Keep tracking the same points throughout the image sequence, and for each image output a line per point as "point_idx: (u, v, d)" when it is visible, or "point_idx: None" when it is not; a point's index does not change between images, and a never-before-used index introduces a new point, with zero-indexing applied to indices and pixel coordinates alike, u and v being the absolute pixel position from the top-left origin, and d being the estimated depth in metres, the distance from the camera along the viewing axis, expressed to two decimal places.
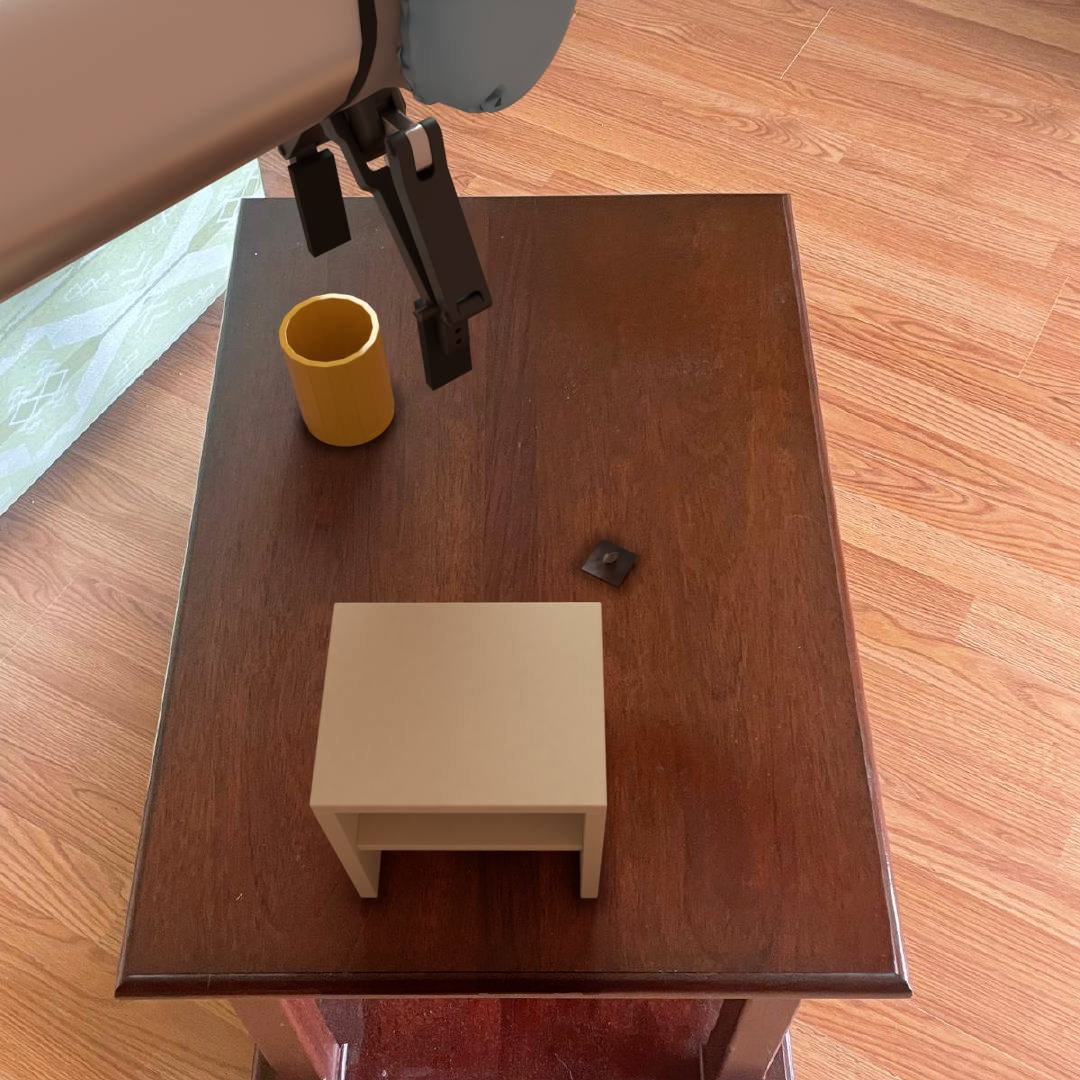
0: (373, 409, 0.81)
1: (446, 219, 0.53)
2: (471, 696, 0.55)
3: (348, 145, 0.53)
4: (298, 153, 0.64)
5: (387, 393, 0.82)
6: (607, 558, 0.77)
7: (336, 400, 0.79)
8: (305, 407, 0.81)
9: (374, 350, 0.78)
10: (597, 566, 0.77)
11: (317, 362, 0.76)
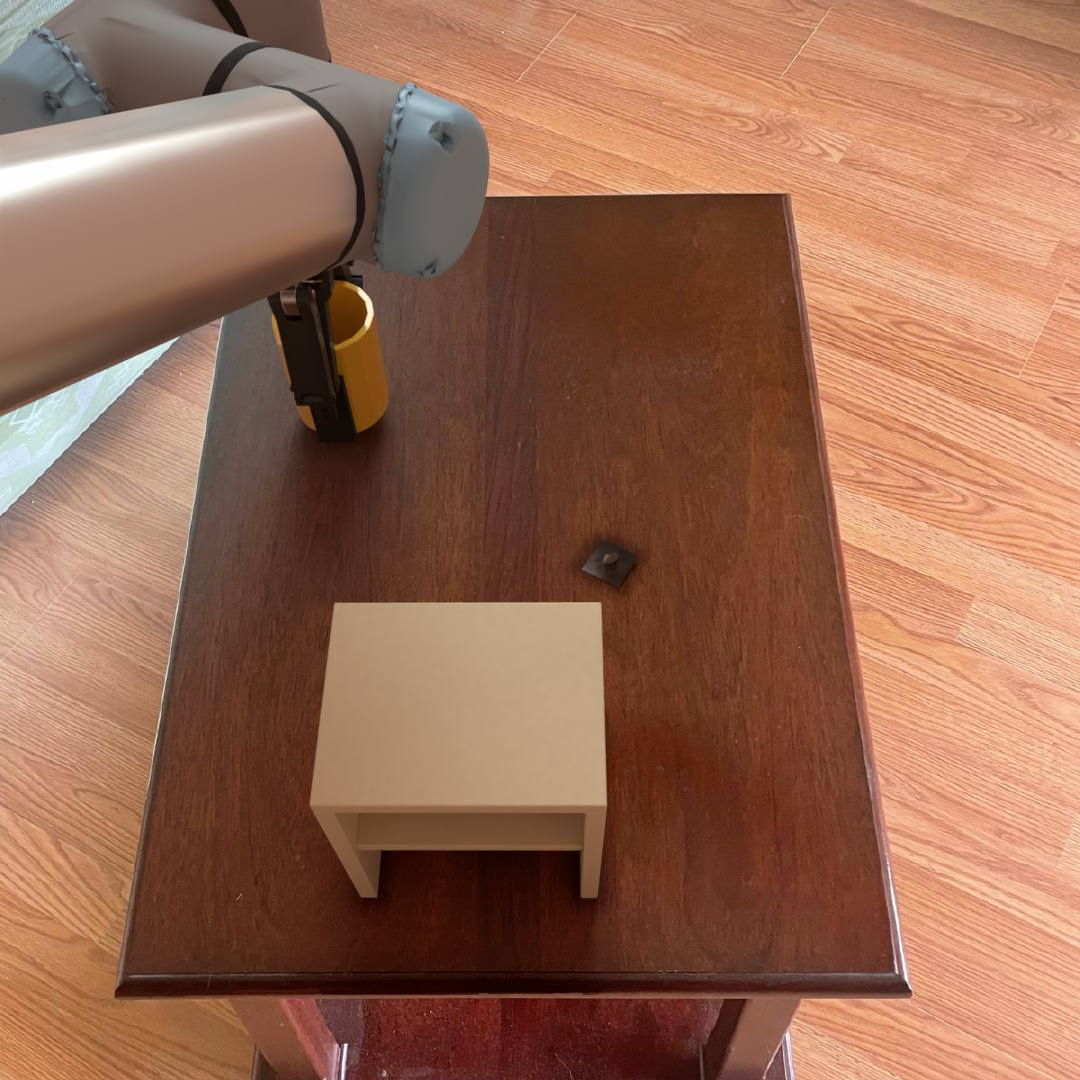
0: (367, 397, 0.80)
1: (305, 348, 0.70)
2: (471, 696, 0.55)
3: None
4: None
5: (382, 382, 0.81)
6: (608, 558, 0.77)
7: None
8: None
9: (368, 336, 0.76)
10: (597, 567, 0.77)
11: None
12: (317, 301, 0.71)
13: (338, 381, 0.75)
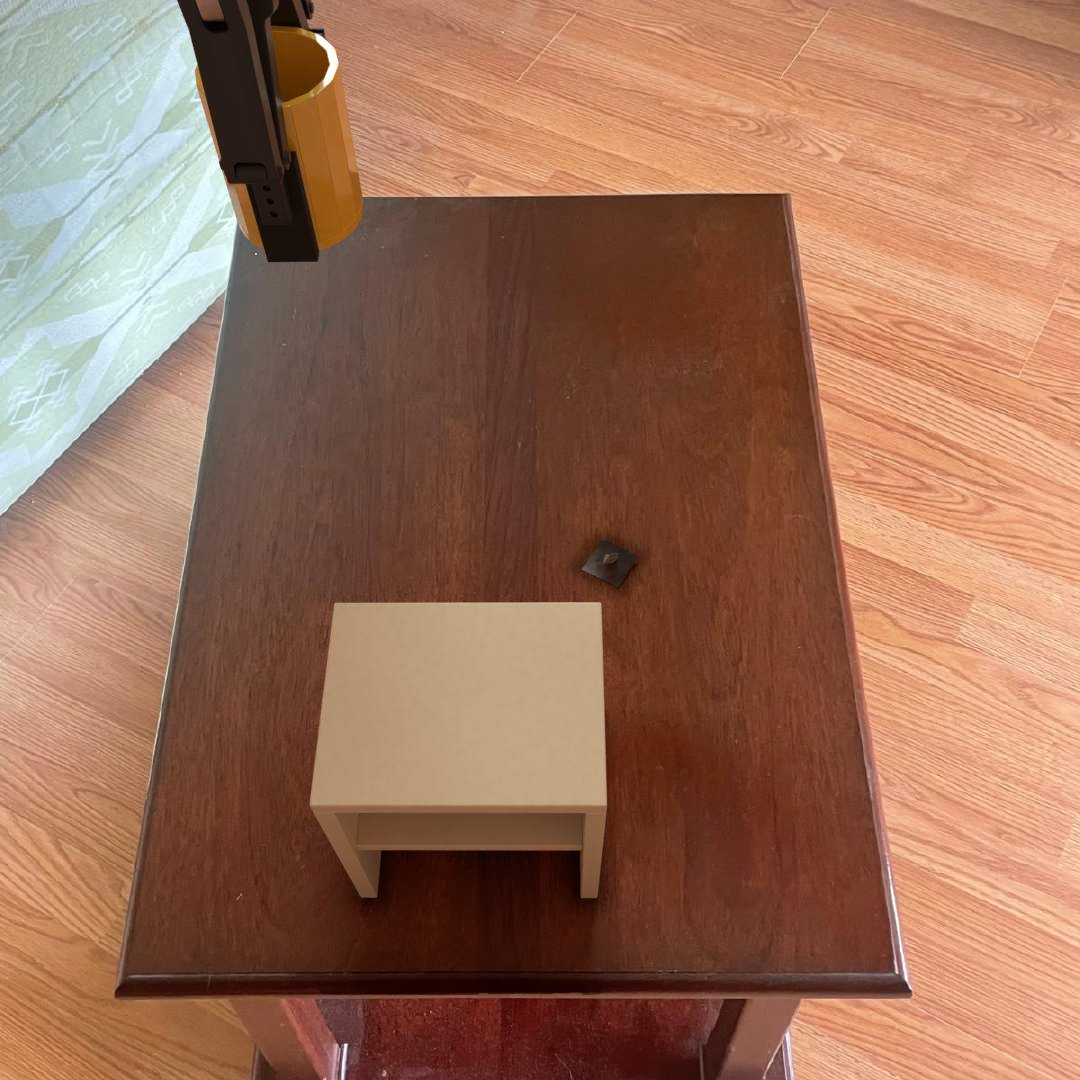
0: (332, 195, 0.58)
1: (235, 81, 0.48)
2: (471, 696, 0.55)
3: None
4: None
5: (352, 177, 0.59)
6: (608, 558, 0.77)
7: None
8: (236, 191, 0.58)
9: (331, 96, 0.54)
10: (597, 567, 0.77)
11: None
12: (253, 20, 0.49)
13: (288, 154, 0.53)
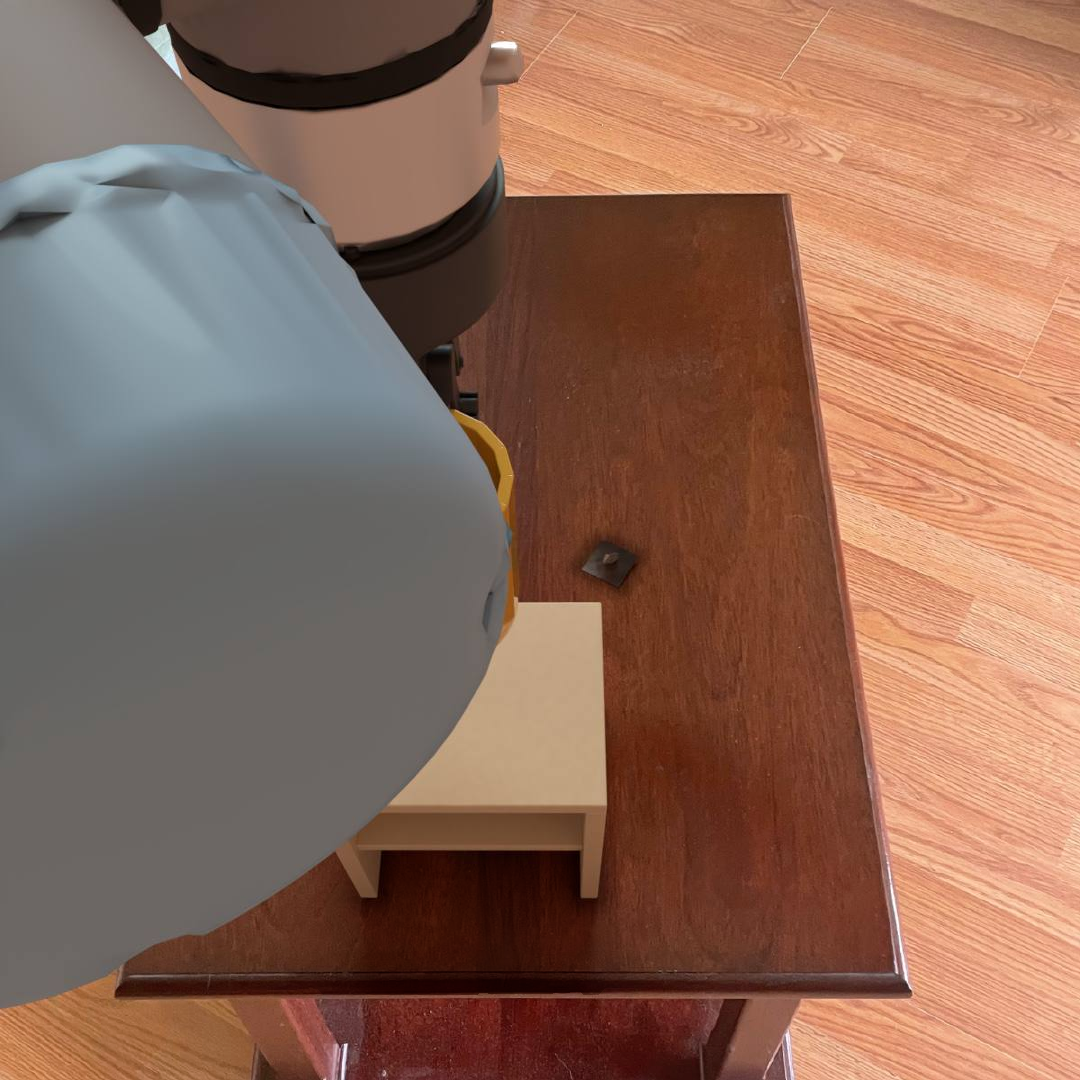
0: None
1: None
2: None
3: None
4: None
5: (514, 580, 0.46)
6: (608, 558, 0.77)
7: None
8: None
9: (505, 519, 0.41)
10: (597, 567, 0.77)
11: None
12: None
13: None
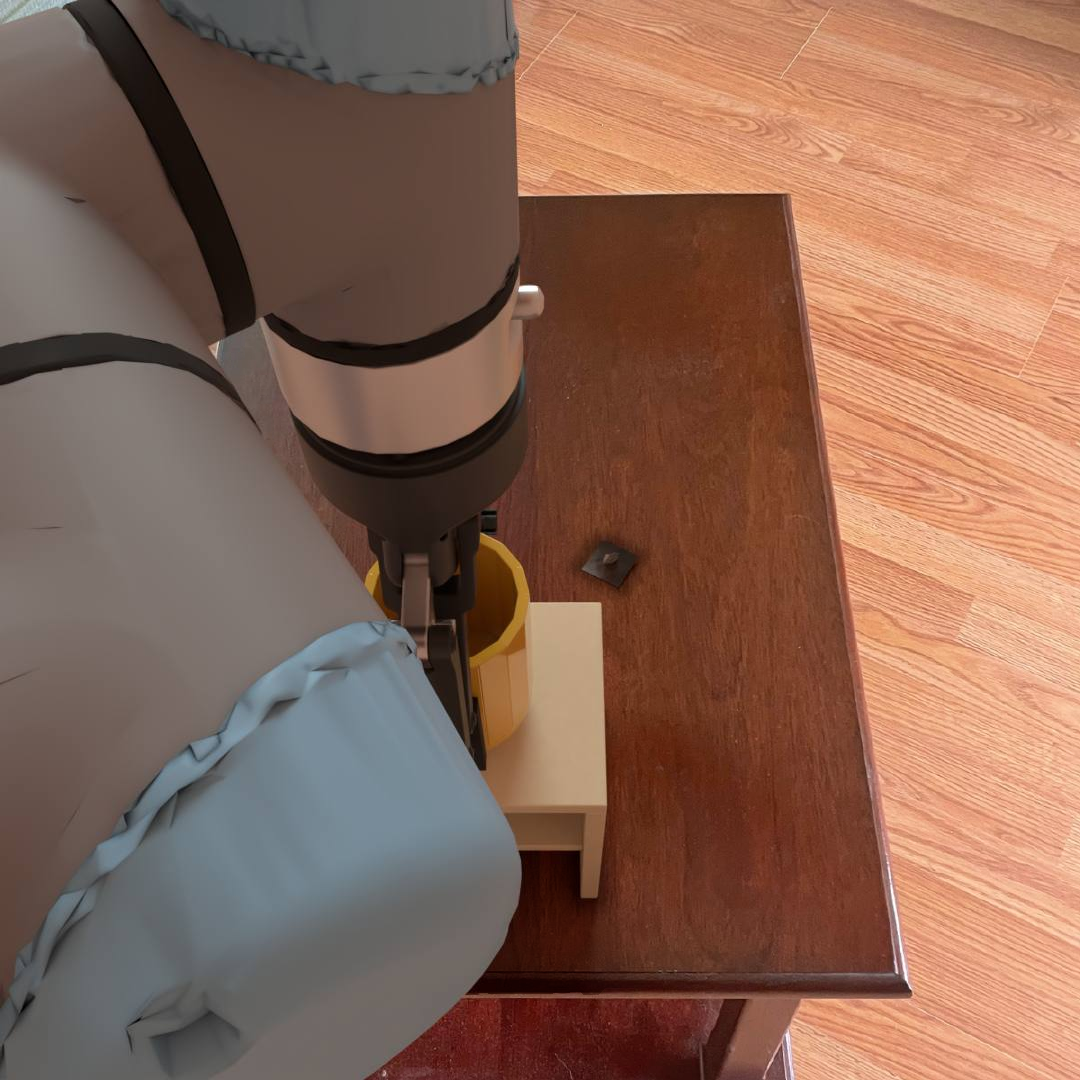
0: (508, 708, 0.50)
1: None
2: None
3: (378, 561, 0.39)
4: None
5: (529, 677, 0.51)
6: (608, 558, 0.77)
7: None
8: None
9: (521, 633, 0.46)
10: (597, 567, 0.77)
11: None
12: (450, 612, 0.41)
13: (474, 718, 0.45)
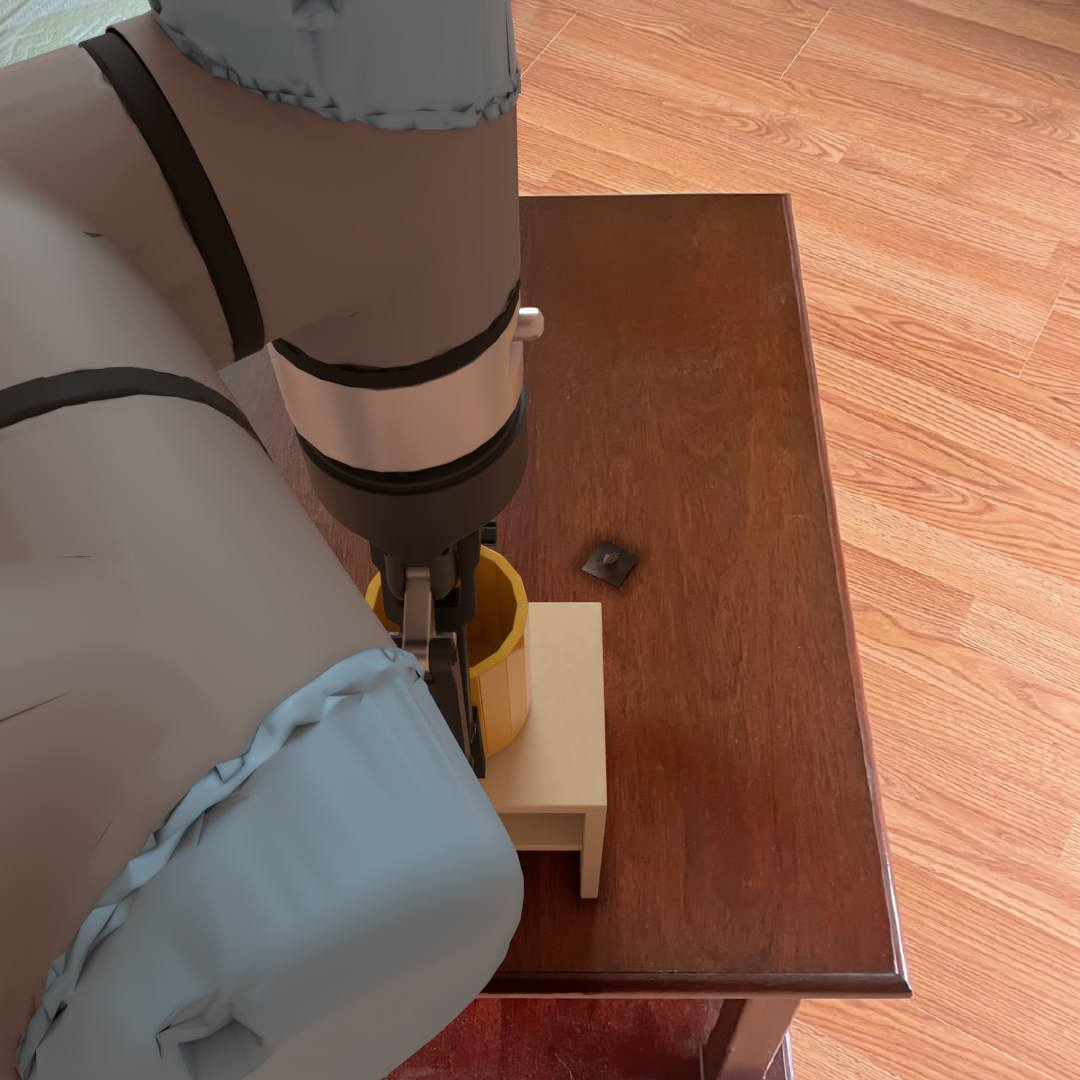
0: (507, 717, 0.51)
1: None
2: None
3: (380, 574, 0.40)
4: None
5: (527, 686, 0.52)
6: (608, 558, 0.77)
7: None
8: None
9: (520, 644, 0.47)
10: (597, 567, 0.77)
11: None
12: (450, 624, 0.42)
13: (474, 727, 0.46)
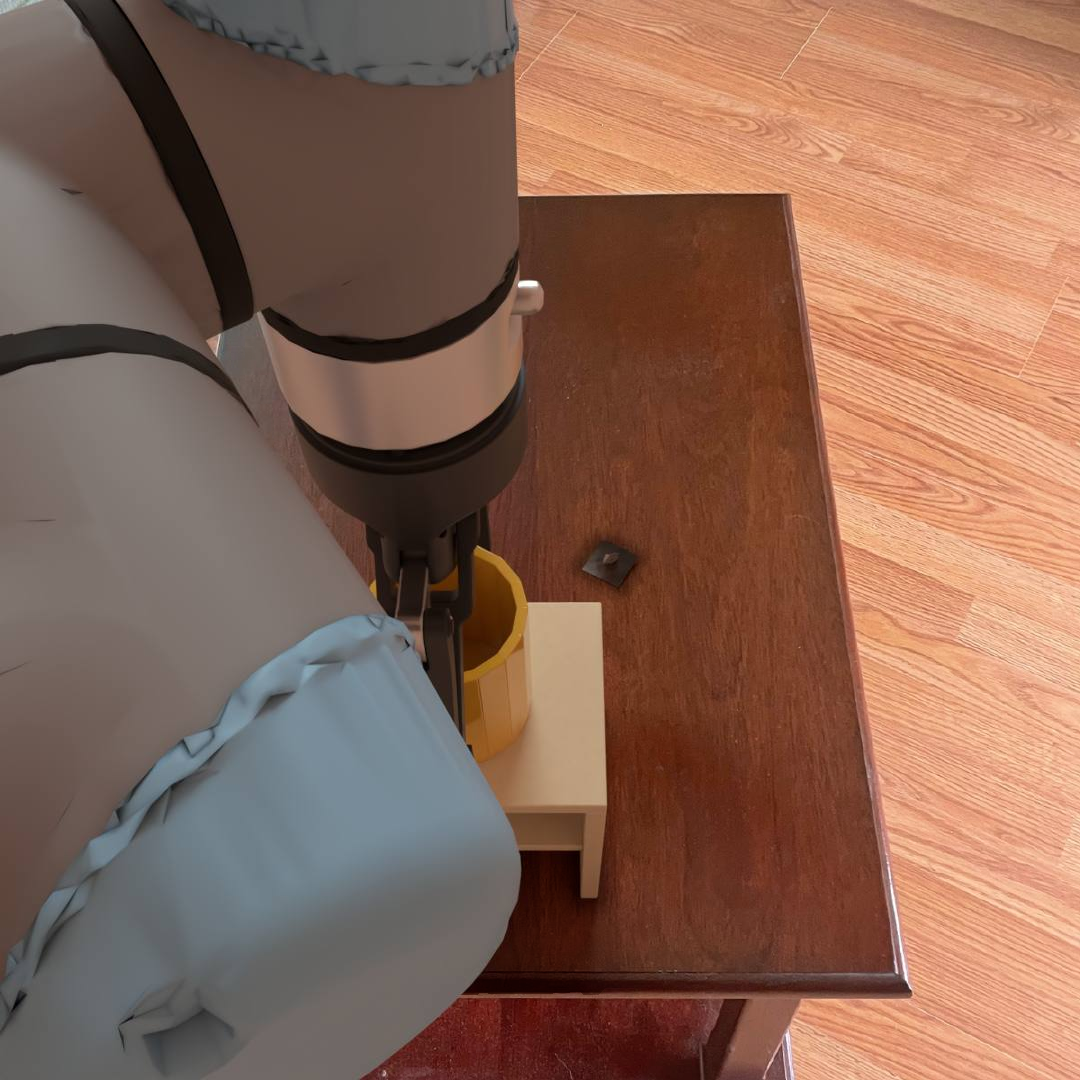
0: (508, 719, 0.51)
1: None
2: None
3: None
4: None
5: (528, 688, 0.52)
6: (608, 558, 0.77)
7: None
8: None
9: (520, 647, 0.47)
10: (597, 567, 0.77)
11: None
12: None
13: None
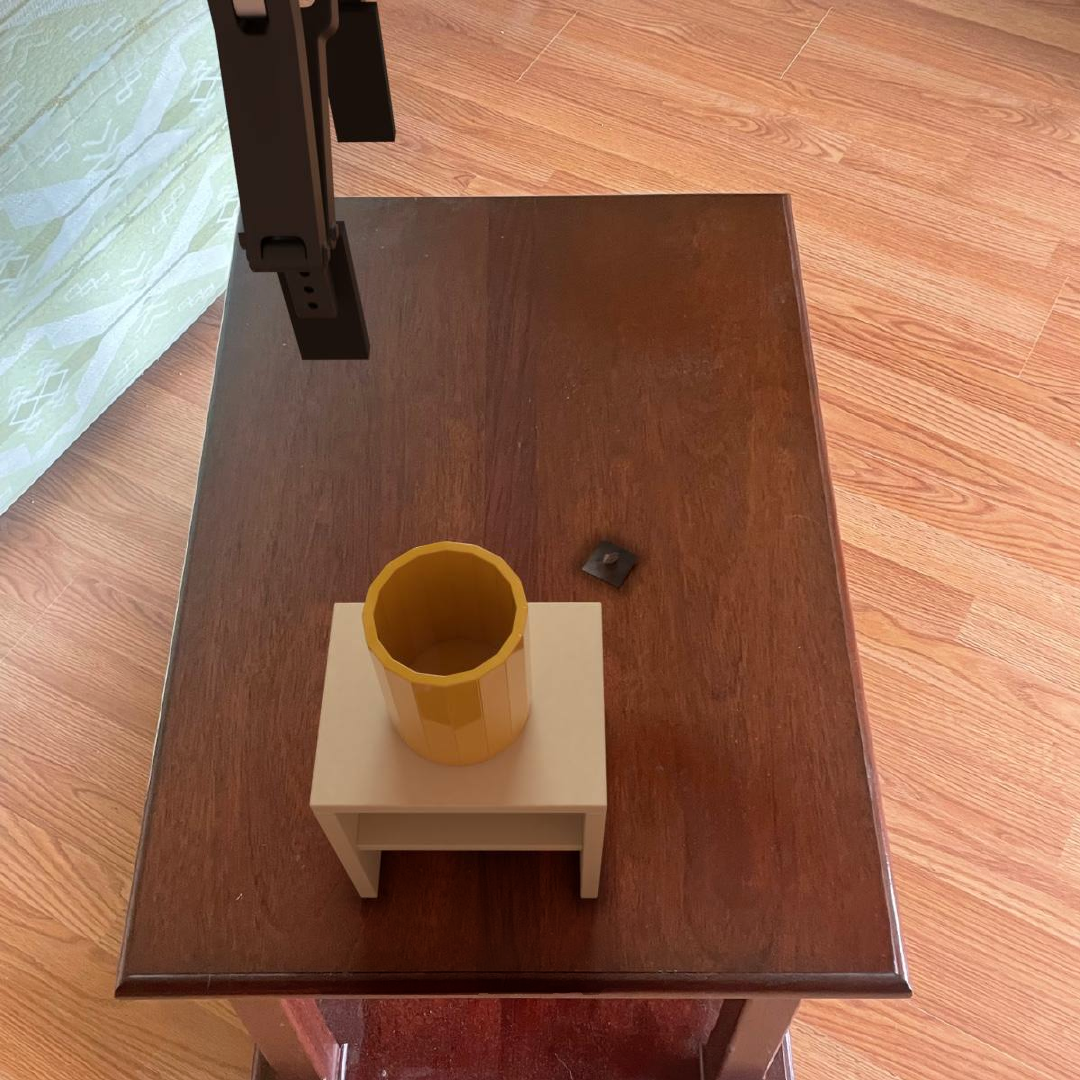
0: (508, 719, 0.51)
1: (273, 109, 0.34)
2: None
3: None
4: None
5: (528, 688, 0.52)
6: (608, 558, 0.77)
7: (454, 720, 0.48)
8: (399, 718, 0.50)
9: (520, 647, 0.47)
10: (597, 567, 0.77)
11: (430, 677, 0.45)
12: None
13: (335, 226, 0.38)
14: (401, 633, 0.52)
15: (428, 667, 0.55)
